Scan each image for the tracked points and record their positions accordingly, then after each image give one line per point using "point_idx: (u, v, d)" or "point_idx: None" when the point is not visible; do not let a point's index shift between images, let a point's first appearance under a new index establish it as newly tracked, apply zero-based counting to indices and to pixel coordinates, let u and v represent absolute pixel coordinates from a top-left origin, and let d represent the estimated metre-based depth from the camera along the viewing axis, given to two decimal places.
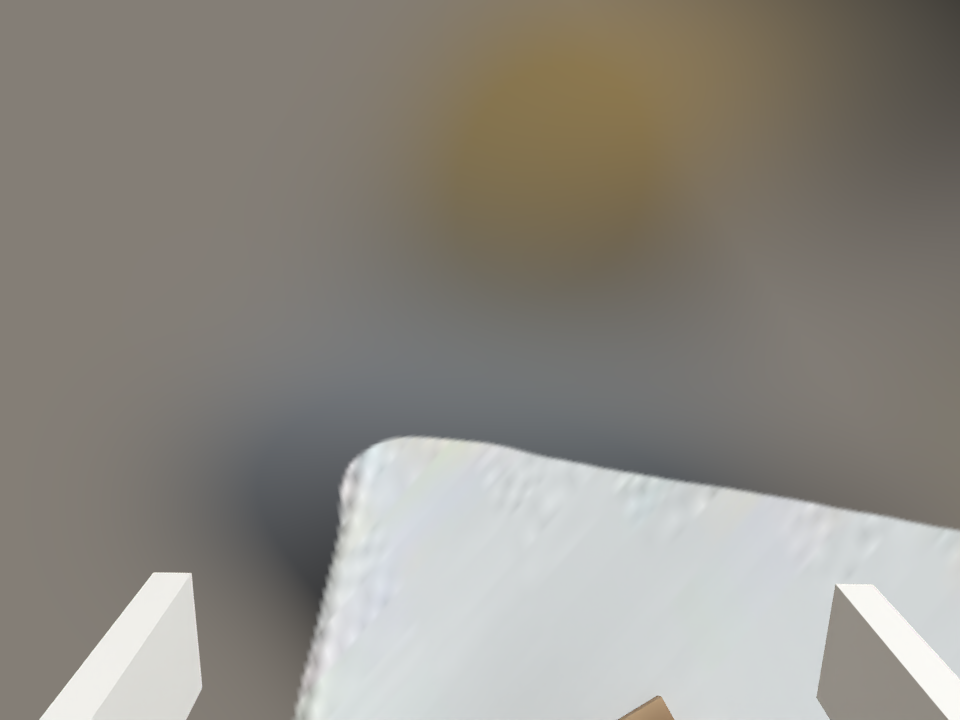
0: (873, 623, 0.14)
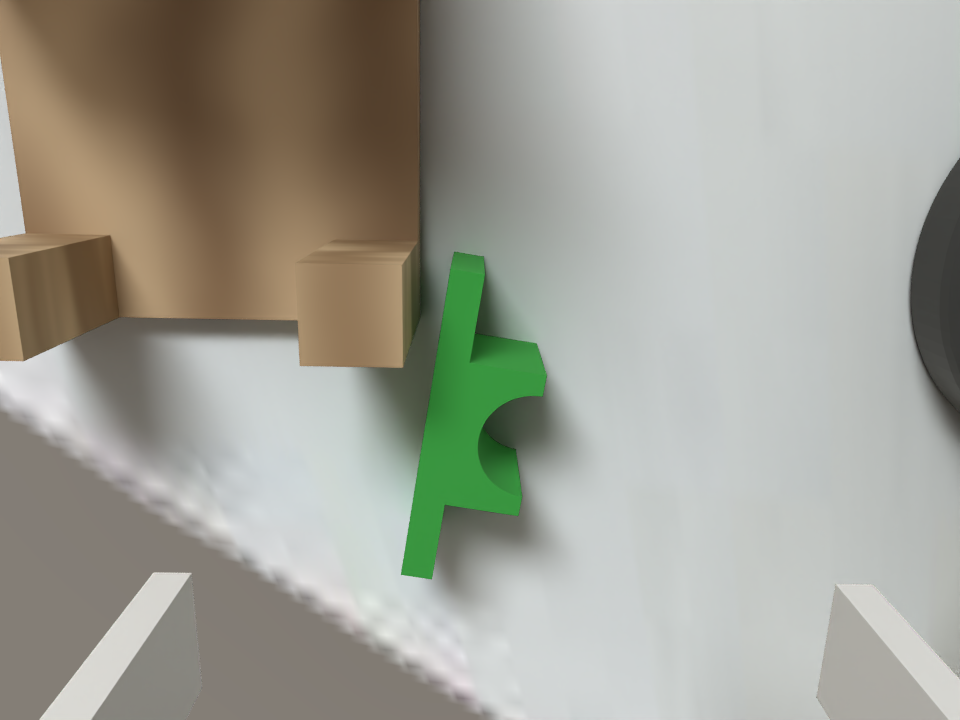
0: (874, 624, 0.14)
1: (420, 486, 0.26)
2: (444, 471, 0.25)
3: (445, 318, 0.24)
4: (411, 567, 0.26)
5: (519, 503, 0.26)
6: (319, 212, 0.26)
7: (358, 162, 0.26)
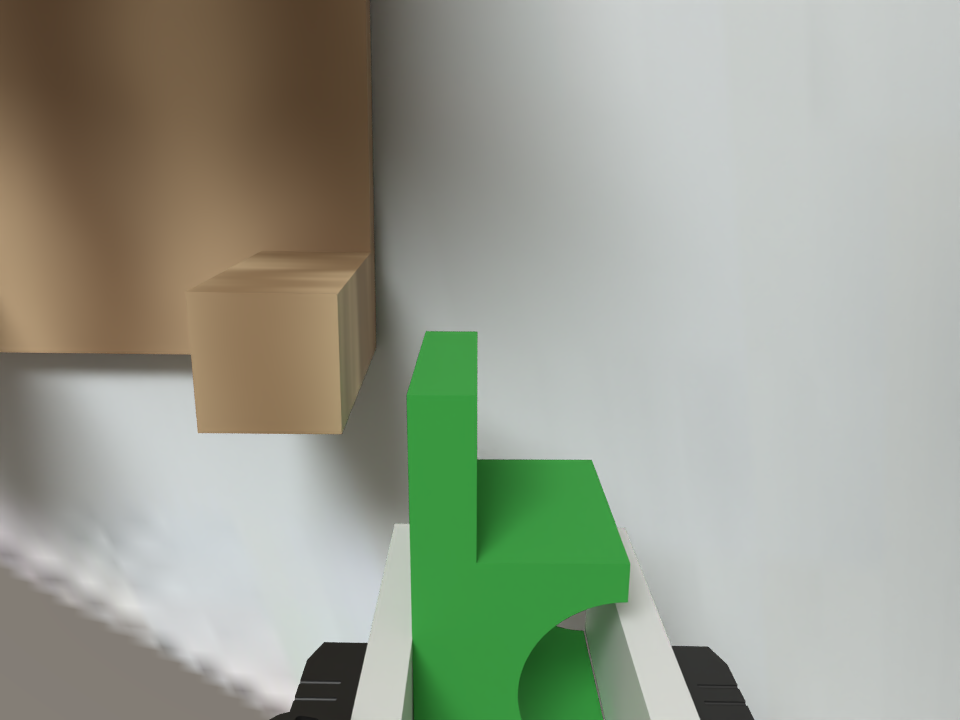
0: None
1: None
2: None
3: (414, 489, 0.12)
4: None
5: None
6: (241, 216, 0.20)
7: (290, 150, 0.20)
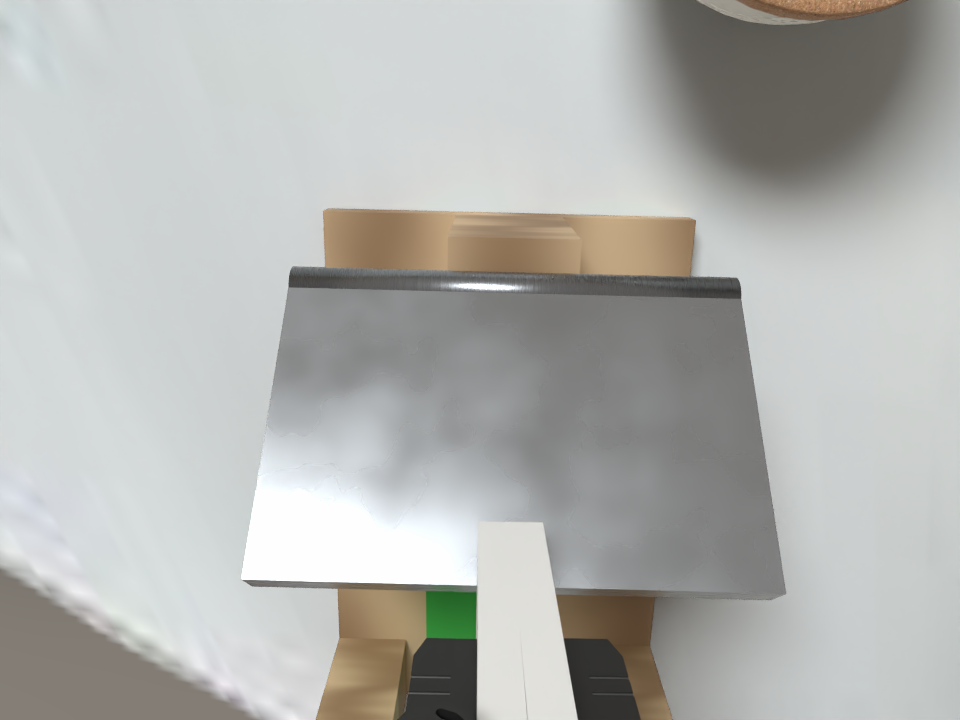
0: (517, 551, 0.16)
1: None
2: None
3: None
4: None
5: None
6: (573, 626, 0.33)
7: None
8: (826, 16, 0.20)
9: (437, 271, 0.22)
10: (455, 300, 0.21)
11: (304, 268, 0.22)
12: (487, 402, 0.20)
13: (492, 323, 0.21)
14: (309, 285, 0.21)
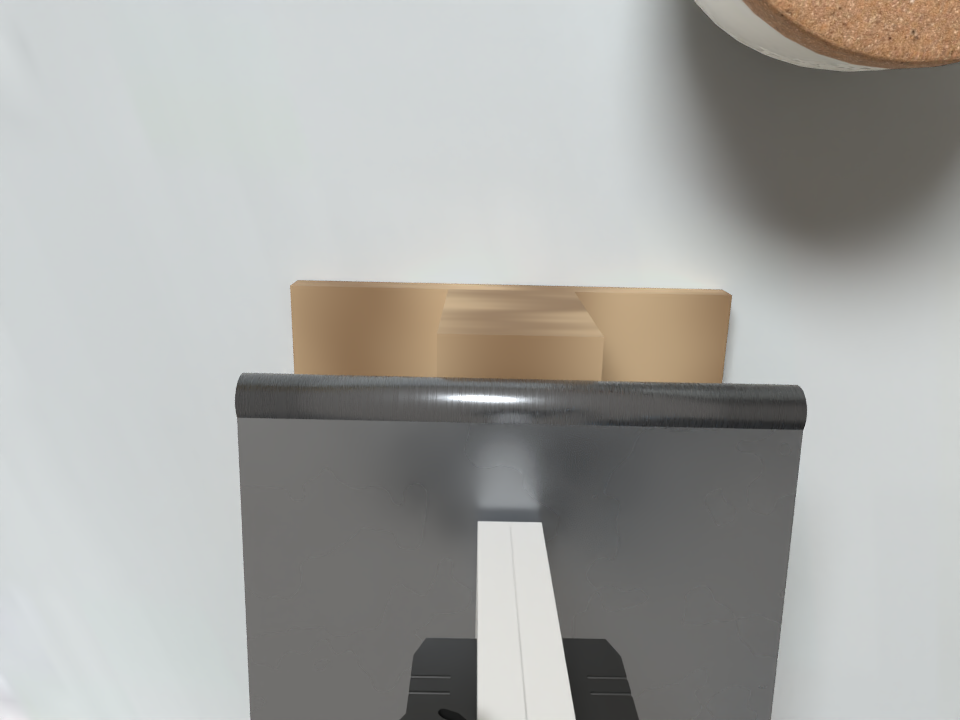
0: (516, 550, 0.16)
1: None
2: None
3: None
4: None
5: None
6: None
7: None
8: (915, 64, 0.16)
9: (422, 393, 0.17)
10: (446, 434, 0.17)
11: (252, 390, 0.17)
12: None
13: (492, 465, 0.17)
14: (262, 416, 0.17)
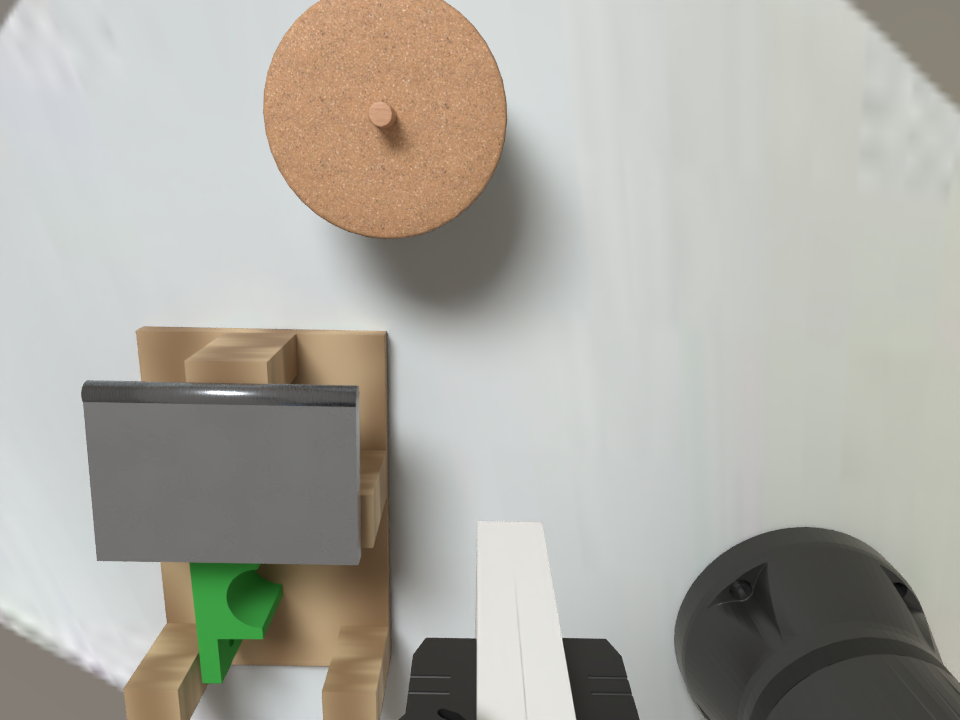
0: (516, 551, 0.16)
1: (199, 630, 0.42)
2: (211, 620, 0.42)
3: None
4: (207, 678, 0.43)
5: (261, 632, 0.42)
6: (332, 612, 0.47)
7: (354, 588, 0.46)
8: (388, 238, 0.34)
9: (171, 389, 0.35)
10: (184, 409, 0.35)
11: (89, 388, 0.35)
12: (208, 472, 0.36)
13: (207, 424, 0.36)
14: (95, 401, 0.35)
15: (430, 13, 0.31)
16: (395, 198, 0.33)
